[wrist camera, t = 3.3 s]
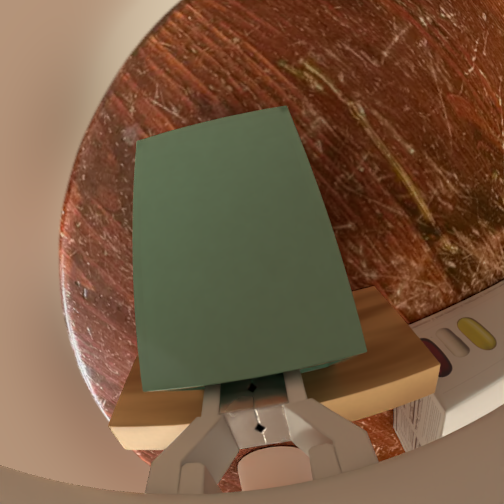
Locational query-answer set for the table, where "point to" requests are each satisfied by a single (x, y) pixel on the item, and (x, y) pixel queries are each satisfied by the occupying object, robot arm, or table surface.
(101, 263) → the table surface
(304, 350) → the green rectangular container
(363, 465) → the robot arm
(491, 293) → the supplement box
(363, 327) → the stepped wooden molding
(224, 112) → the table surface
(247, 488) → the cup
